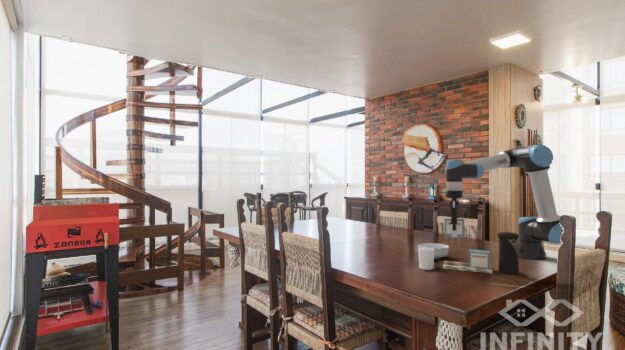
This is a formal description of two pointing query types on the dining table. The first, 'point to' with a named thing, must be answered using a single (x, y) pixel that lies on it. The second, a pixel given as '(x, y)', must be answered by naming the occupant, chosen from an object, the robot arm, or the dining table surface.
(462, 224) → the tea box
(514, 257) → the container
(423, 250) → the white cup
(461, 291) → the dining table surface
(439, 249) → the cereal bowl
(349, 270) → the dining table surface
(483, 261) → the faced tea box
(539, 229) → the robot arm
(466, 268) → the shelf
